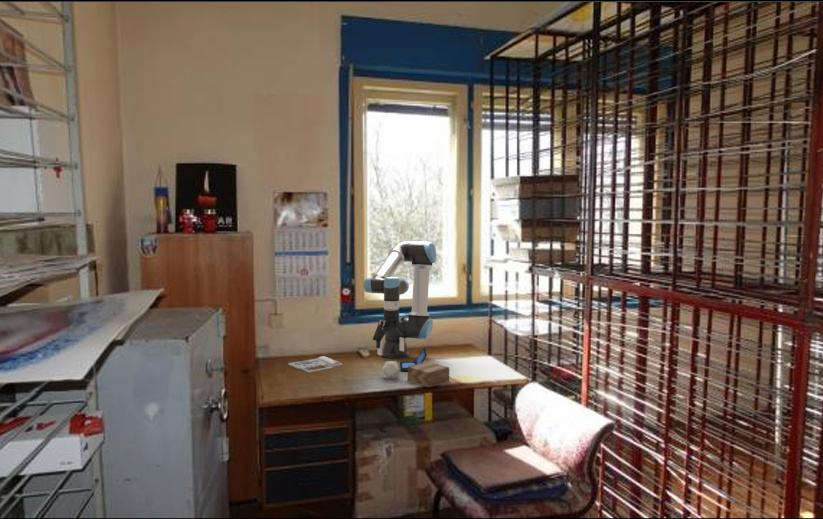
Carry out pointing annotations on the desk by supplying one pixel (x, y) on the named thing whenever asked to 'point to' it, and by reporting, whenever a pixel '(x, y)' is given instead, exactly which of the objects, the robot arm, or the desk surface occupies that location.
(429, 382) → the walnut block
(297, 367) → the office telephone
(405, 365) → the handheld game console
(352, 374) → the desk surface
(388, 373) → the die
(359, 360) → the desk surface
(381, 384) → the desk surface
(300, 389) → the desk surface
